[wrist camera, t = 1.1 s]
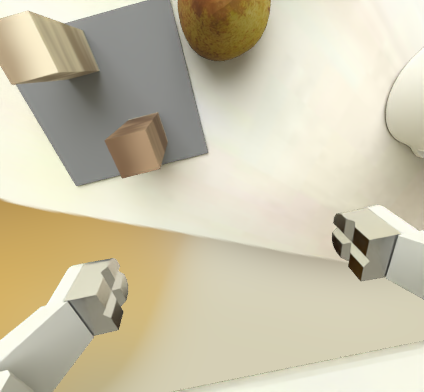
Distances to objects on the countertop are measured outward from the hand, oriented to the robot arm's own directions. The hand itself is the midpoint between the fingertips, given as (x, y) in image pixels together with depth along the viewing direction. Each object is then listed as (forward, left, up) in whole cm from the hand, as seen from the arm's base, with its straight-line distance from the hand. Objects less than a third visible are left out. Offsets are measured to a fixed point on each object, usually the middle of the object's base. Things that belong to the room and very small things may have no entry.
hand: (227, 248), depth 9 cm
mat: (+10, -4, -26) cm, 28 cm away
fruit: (-5, -10, -26) cm, 29 cm away
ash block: (+12, -10, -26) cm, 30 cm away
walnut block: (+7, 0, -26) cm, 27 cm away
